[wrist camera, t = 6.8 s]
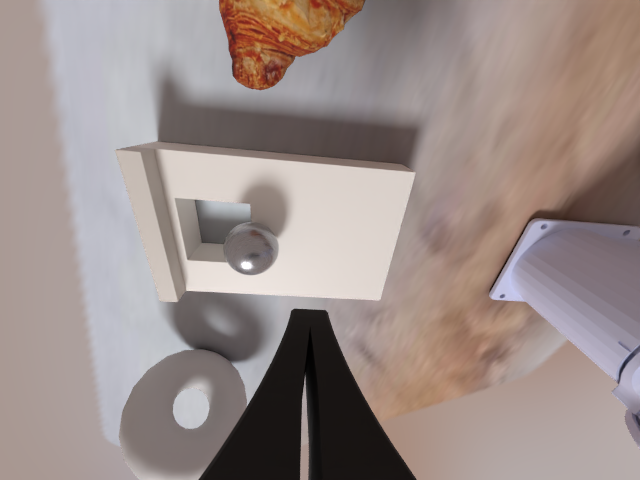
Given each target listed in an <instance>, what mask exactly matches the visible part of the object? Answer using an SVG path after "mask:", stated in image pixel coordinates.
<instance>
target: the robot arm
mask: <svg viewBox="0 0 640 480" xmlns="http://www.w3.org/2000/svg"><path fill="white" fill-rule="evenodd" d="M639 238H640V227H638V226H629V225H616V224H604V223H591V222H578V221H566V220H553V219H541V218H536V219H533V220H531V221H530V222H529V224H528V225H527V227H526V229H525V231H524V233H523V234H522V236H521V238H520V240H519V242H518V243H517V245H516V247H515V249H514V251H513V252H512V254H511V256H510V258H509V259H508V261H507V263H506V265H505V267H504V268H503V270H502V272H501V274H500V276H499V277H498V279H497V281H496V283H495V284H494V286H493V288H492V290H491V292H490V294H489V296H490V297H491V298H492V299H494V300H509V301H526V302H527V303H528V304H529V305H530V306H531V307H533V308H534V309H535V310H536V311H537V312H538V313H539V314H540V315H542V316H543V317H544V318H545V319H546V320H547V321H548V322H549V323H551V324H552V325H553V326H554V327H555V328H556V329H557V330H558V331H560V332H561V333H562V334H563V335H564V336H565V337H566V338H567V339H569V340H570V341H571V342H572V343H573V344H574V345H575V346H576V347H578V348H579V349H580V350H581V351H582V352H583V353H584V354H585V355H587V356H588V357H589V358H590V359H591V360H592V361H593V362H594V363H596V364H597V365H598V366H599V367H600V368H601V369H602V370H603V371H605V372H606V373H607V374H608V375H609V376H610V377H612V379H614V380H615V381H616V382H617V383H618V386H617V387H616V388H615V389H614V390H613V391H612V394H613V395H614V396H615V397H616V398H618V400H619V401H621V402H622V403H623V404H624V405H625V406H626V407H627V408H628V410H627V411H626V414H625V422H626V425H627V427H628V430H629V432H630V434H631V435H632V437H633V439H634V441H635V442H636V444H637V446H638V447H639V449H640V241H638V240H639ZM305 375H306V396H307V416H308V436H309V479H308V480H416V478H415V476H414V475H413V474H412V472H411V471H410V469H409V468H408V466H407V465H406V463H405V462H404V460H403V459H402V458H401V456H400V455H399V453H398V452H397V450H396V449H395V447H394V446H393V444H392V443H391V441H390V440H389V438H388V436H387V435H386V433H385V432H384V430H383V429H382V427H381V425H380V424H379V422H378V420H377V419H376V417H375V415H374V413H373V412H372V410H371V408H370V407H369V405H368V403H367V401H366V400H365V398H364V396H363V394H362V392H361V390H360V389H359V387H358V385H357V383H356V381H355V379H354V377H353V375H352V373H351V371H350V369H349V367H348V365H347V362H346V360H345V358H344V356H343V354H342V351H341V349H340V347H339V344H338V342H337V339H336V337H335V334H334V331H333V329H332V326H331V323H330V319H329V316H328V312H327V311H326V310H310V309H293V310H292V311H291V315H290V319H289V322H288V325H287V328H286V331H285V333H284V336H283V338H282V341H281V343H280V345H279V347H278V350H277V352H276V354H275V356H274V358H273V360H272V362H271V364H270V366H269V368H268V370H267V372H266V374H265V376H264V378H263V380H262V382H261V383H260V385H259V387H258V389H257V391H256V392H255V394H254V396H253V398H252V399H251V401H250V403H249V404H248V406H247V408H246V409H245V411H244V413H243V414H242V416H241V417H240V419H239V421H238V422H237V424H236V425H235V427H234V428H233V430H232V431H231V433H230V434H229V436H228V438H227V439H226V441H225V442H224V444H223V445H222V447H221V448H220V450H219V451H218V453H217V454H216V455H215V457H214V458H213V460H212V461H211V463H210V464H209V466H208V467H207V468H206V470H205V471H204V472H203V474H202V475H201V477H200V478H199V479H198V480H300V451H301V416H302V395H303V387H304V379H305Z"/></svg>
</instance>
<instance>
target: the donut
mask: <svg viewBox="0 0 640 480" xmlns="http://www.w3.org/2000/svg"><path fill="white" fill-rule="evenodd" d="M189 388H195V389H199V390H200V391H202V392H203V393H204V394H205V395H206V397H207V399H208V401H209V408H210V409H209V414H208V417H207V419H206V421H205V422H204V423H203V424H202V425H201V426H199V427H198V428H195V429H185V428H183V427H182V426H180V425H179V424H178V423H177V422H176V420H175V418H174V415H173V404H174V400H175V398H176V397H177V395H178V394H179V393H180V392H181V391H183V390H185V389H189ZM246 404H247V399H246V393H245V386H244V383H243V381H242V379H241V377H240V374H239V372H238V371H237V369H236V368H235V367H234V366H233V365H232V364H231V362H230V361H229V360H227V359H226V358H224V357H223V356H221V355H219V354H218V353H215V352H211V351H207V350H203V349H199V350H184V351H181V352H178V353H175V354H173V355H170V356H167V357H166V358H164V359H163V360H161V361H160V362H159V363H157V364H156V365H154V366H153V367H151V368H150V369H149V370H148V371H147V372H146V373H145V374H144V375H143V377H142V378H141V379H140V380H139V381H138V383H137V384H136V385H135V386H134V387H133V389H132V392H131V394H130V396H129V398H128V400H127V402H126V405H125V407H124V409H123V411H122V417H121V425H120V432H119V440H120V444H121V449H122V453H123V458H124V461H125V462H126V463H127V465H128V466H129V467H130V469H131V470H132V471H133V473H134V474H135V475H136V477H137V478H138V479H140V480H198V479H199V478H200V477H201V475H202V474H203V472H204V471H205V470H206V468H207V467H208V466H209V464H210V463H211V461H212V460H213V458H214V457H215V455H216V454H217V453H218V451H219V450H220V448H221V447H222V445H223V444H224V442H225V441H226V439H227V438H228V436H229V434H230V433H231V431H232V430H233V428H234V427H235V425H236V424H237V422H238V421H239V419H240V417H241V416H242V414H243V413H244V411H245V409H246Z"/></svg>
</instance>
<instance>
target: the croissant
mask: <svg viewBox="0 0 640 480" xmlns="http://www.w3.org/2000/svg"><path fill="white" fill-rule="evenodd" d="M364 2H365V0H219V10H220V13H221V17H222V20H223V23H224V27H225V30H226V34H227V37H228V43H229V52H230V55H231V58H232V60H233V61H232V72H233V76H234V78H235V79H236V80H237V82H239V83H241V84H242V85H244V86H246V87H248V88H251V89H257V90H264V89H268V88H270V87H272V86H274V85H276V84H277V83H278V82H279V81H280V80H281V79H282V78H283V76H284V74H285V72H286V70H287V68H288V67H289V66H290V65H291V64H292V63H293V61H294V59H295V56H298V57H300V56H303V55H306V54H310V53H314V52H316V51H317V50H319V49H321V48H322V47H326V46H328V44H329V43H330V42H331V40H332V38H333V37H334V36H336V35H337V34H338V33H339V32H340V31H342V30H343V29H344V25H345V23H346V22H348V21H349V20H350V19H351V18H352V17H353V16H354V15H355V14H356V13H358V12H359V11H361V10H362V7H363V5H364Z"/></svg>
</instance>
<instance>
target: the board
mask: <svg viewBox="0 0 640 480" xmlns="http://www.w3.org/2000/svg"><path fill="white" fill-rule="evenodd" d="M115 152H116V155H117V158H118V162H119V165H120V168H121V172H122V175H123V178H124V182H125V185H126V189H127V192H128V195H129V199H130V202H131V205H132V209H133V212H134V215H135V219H136V222H137V225H138V229H139V232H140V236H141V239H142V242H143V246H144V249H145V252H146V256H147V259H148V262H149V266H150V269H151V272H152V276H153V279H154V283H155V286H156V289H157V293H158V296H159V299H160V301H165V302H178V301H179V300H180V298H181V297H182V296H183V294H184V293H185V291H202V292H222V293H242V294H262V295H283V296H303V297H323V298H343V299H363V300H380V298H381V295H382V291H383V288H384V284H385V280H386V277H387V273H388V270H389V266H390V263H391V259H392V256H393V252H394V248H395V245H396V241H397V238H398V234H399V231H400V227H401V224H402V220H403V216H404V213H405V209H406V206H407V202H408V199H409V195H410V192H411V188H412V184H413V181H414V177H415V174H416V172H414V171H413V170H411V169H409V168H407V167H406V166H404V165H402V164H395V163H384V162H373V161H363V160H352V159H341V158H330V157H320V156H309V155H298V154H287V153H276V152H266V151H255V150H244V149H233V148H223V147H212V146H201V145H190V144H179V143H169V142H158V141H157V142H152V143H147V144H142V145H137V146H132V147H127V148H122V149H117V150H115ZM195 199H196V200H209V201H222V202H235V203H248V204H250V206H251V222H257V223H261V224H263V225H265V226H267V227H268V228H269V229H271V230H272V231H273V233H274V234H275V236H276V238H277V240H278V244H279V252H278V257H277V259H276V261H275V263H274V264H273V265H272V267H270V268H269V269H268V270H267V271H265V272H263V273H261V274H258V275H244V274H241V273H239V272H237V271H235V270H234V269H232V268H231V267H230V266H229V264H228V263H227V261H226V259H225V257H224V252H223V246H224V244H214V243H202V241H201V234H200V228H199V222H198V216H197V210H196V204H195Z"/></svg>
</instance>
